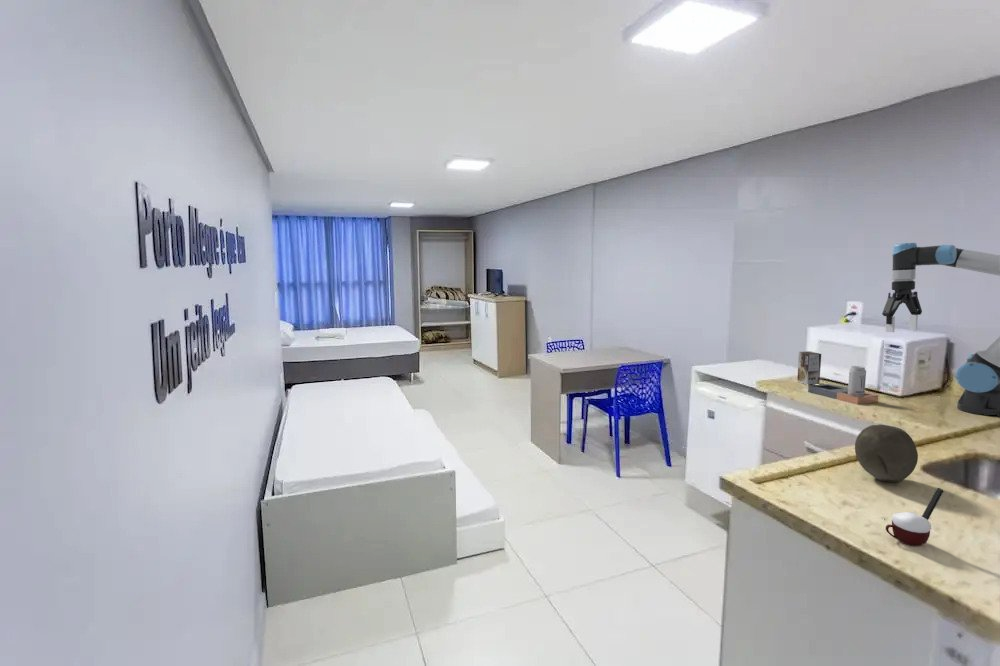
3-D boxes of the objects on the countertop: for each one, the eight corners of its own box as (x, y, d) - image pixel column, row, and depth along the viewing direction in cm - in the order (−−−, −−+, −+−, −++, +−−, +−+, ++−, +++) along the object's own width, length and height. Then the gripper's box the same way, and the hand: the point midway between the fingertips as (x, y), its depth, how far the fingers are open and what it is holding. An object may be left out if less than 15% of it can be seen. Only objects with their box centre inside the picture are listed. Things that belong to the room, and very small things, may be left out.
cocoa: (885, 544, 103) (887, 490, 102) (883, 530, 109) (884, 478, 107) (945, 555, 98) (948, 499, 97) (939, 540, 103) (942, 486, 102)
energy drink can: (858, 402, 213) (861, 368, 212) (844, 399, 219) (846, 366, 217) (867, 400, 216) (869, 367, 214) (852, 397, 221) (855, 365, 219)
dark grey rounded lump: (930, 487, 129) (935, 432, 127) (884, 492, 127) (889, 436, 125) (881, 467, 143) (885, 417, 141) (838, 470, 141) (842, 420, 139)
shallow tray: (808, 391, 233) (808, 385, 233) (827, 390, 237) (827, 383, 236) (857, 404, 210) (857, 397, 210) (878, 402, 214) (878, 395, 213)
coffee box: (820, 385, 246) (822, 353, 245) (807, 385, 246) (809, 354, 245) (809, 381, 255) (810, 351, 254) (796, 381, 256) (798, 351, 254)
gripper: (914, 280, 211) (912, 328, 213) (872, 281, 204) (871, 332, 206) (934, 279, 204) (932, 329, 206) (891, 281, 197) (890, 333, 199)
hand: (901, 331), depth 206 cm, fingers open, 13 cm apart
